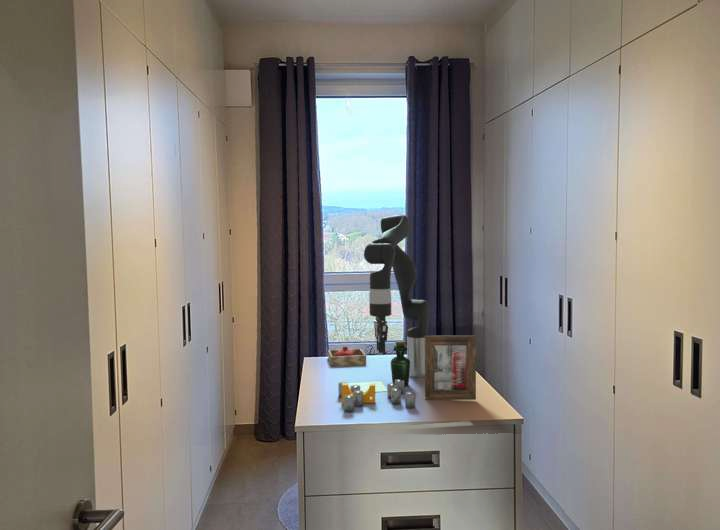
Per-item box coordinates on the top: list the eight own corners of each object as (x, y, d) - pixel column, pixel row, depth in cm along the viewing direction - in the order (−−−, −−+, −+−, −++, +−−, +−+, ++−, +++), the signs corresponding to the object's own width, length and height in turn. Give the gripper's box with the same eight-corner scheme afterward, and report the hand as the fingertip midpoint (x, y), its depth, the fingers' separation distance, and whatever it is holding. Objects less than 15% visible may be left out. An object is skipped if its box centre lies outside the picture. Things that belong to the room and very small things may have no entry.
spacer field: (403, 391, 202) (402, 378, 202) (416, 408, 181) (416, 394, 181) (338, 395, 198) (337, 382, 198) (344, 412, 178) (344, 398, 177)
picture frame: (425, 399, 191) (424, 336, 190) (425, 398, 193) (424, 335, 192) (475, 399, 190) (475, 336, 189) (475, 398, 192) (474, 335, 191)
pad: (381, 381, 216) (381, 381, 216) (387, 391, 202) (387, 390, 202) (343, 383, 214) (343, 383, 213) (347, 393, 200) (347, 393, 200)
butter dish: (330, 366, 245) (330, 348, 245) (337, 360, 257) (336, 343, 256) (354, 367, 243) (353, 349, 242) (359, 361, 254) (359, 344, 254)
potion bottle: (393, 381, 216) (393, 338, 215) (412, 383, 213) (412, 340, 213) (388, 386, 209) (387, 342, 208) (407, 388, 206) (407, 343, 205)
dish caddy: (361, 358, 259) (361, 348, 259) (366, 365, 244) (366, 355, 243) (328, 360, 256) (328, 350, 256) (331, 367, 241) (331, 357, 241)
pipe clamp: (341, 403, 187) (341, 386, 186) (343, 399, 191) (342, 382, 190) (374, 404, 186) (374, 387, 185) (375, 400, 190) (375, 383, 190)
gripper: (395, 303, 170) (396, 355, 171) (386, 299, 184) (387, 347, 185) (373, 304, 169) (373, 356, 170) (366, 299, 183) (366, 347, 184)
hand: (380, 351), depth 177 cm, fingers open, 3 cm apart
